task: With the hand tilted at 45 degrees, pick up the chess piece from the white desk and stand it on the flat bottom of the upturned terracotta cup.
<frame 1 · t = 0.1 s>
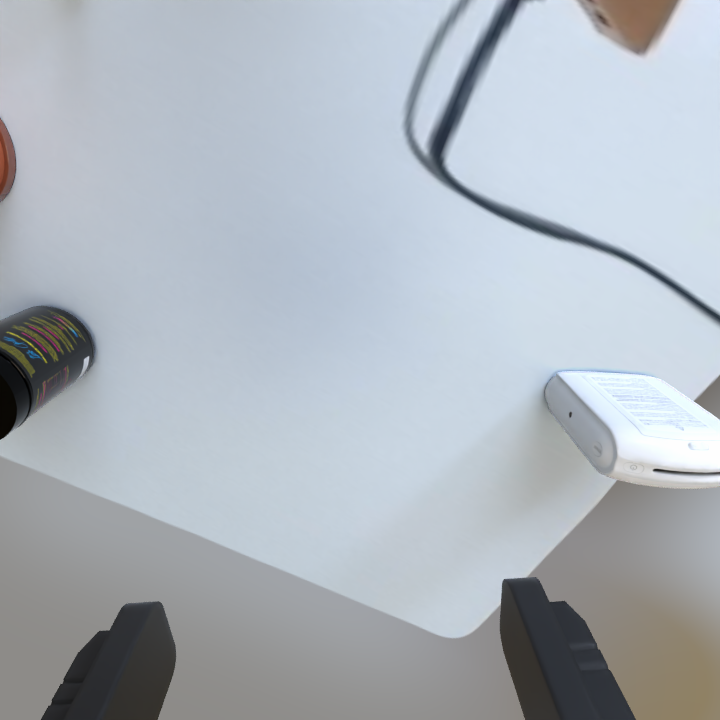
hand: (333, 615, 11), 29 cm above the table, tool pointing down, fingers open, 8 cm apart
supplement container: (58, 341, 39), on the table
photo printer: (598, 390, 42), on the table
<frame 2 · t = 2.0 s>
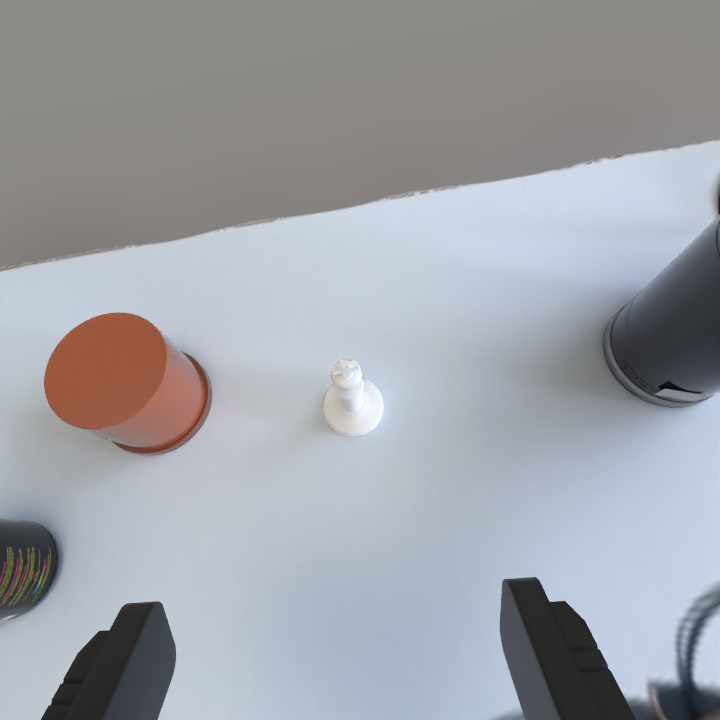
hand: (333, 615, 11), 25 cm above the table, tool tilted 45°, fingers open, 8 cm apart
chess piece: (353, 407, 39), on the table
supplement container: (21, 568, 35), on the table
upturned cup: (158, 401, 39), on the table
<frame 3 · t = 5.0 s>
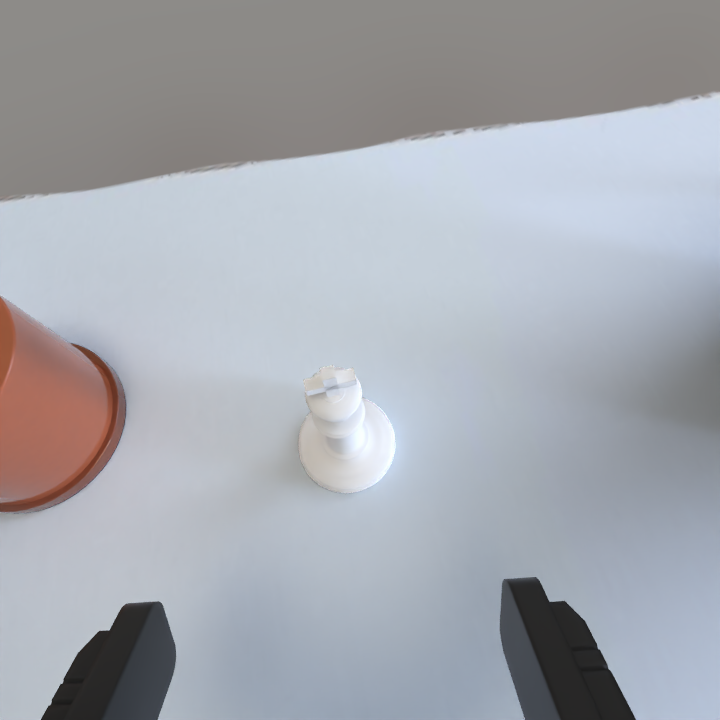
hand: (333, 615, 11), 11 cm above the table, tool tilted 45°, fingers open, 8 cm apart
chess piece: (347, 444, 24), on the table
upturned cup: (41, 424, 25), on the table
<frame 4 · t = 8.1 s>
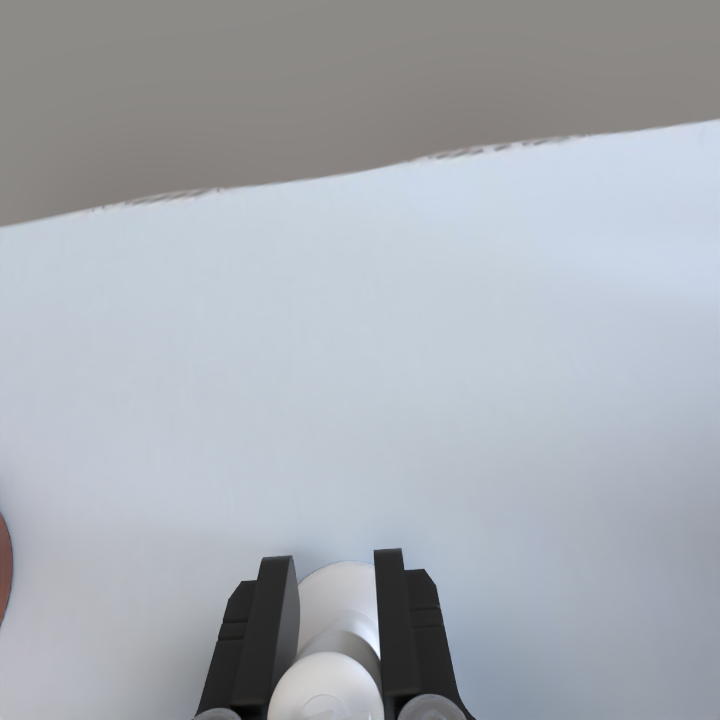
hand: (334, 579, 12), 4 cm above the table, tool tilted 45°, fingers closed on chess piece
chess piece: (350, 642, 16), on the table, touching gripper
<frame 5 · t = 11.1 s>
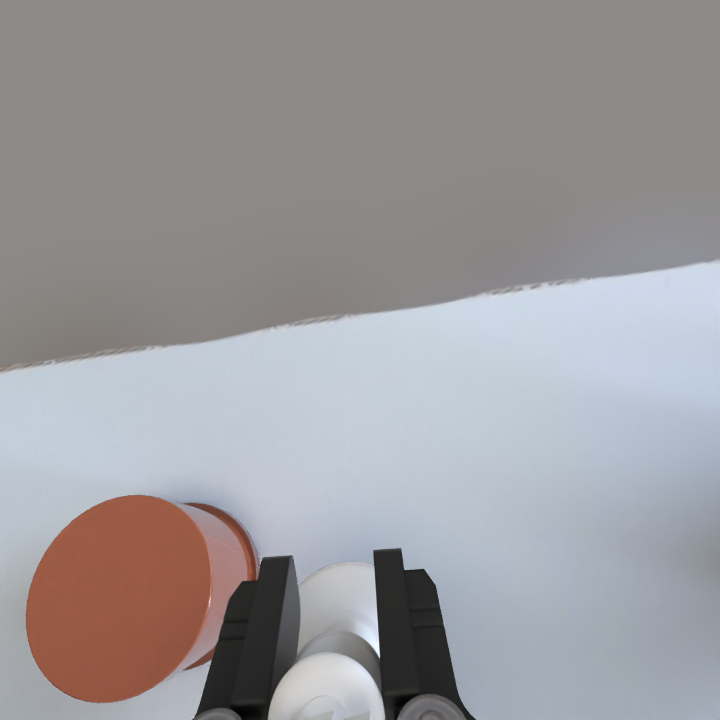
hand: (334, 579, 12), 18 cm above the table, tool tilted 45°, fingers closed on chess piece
chess piece: (351, 642, 16), point 13 cm above the table, touching gripper
upturned cup: (186, 581, 29), on the table
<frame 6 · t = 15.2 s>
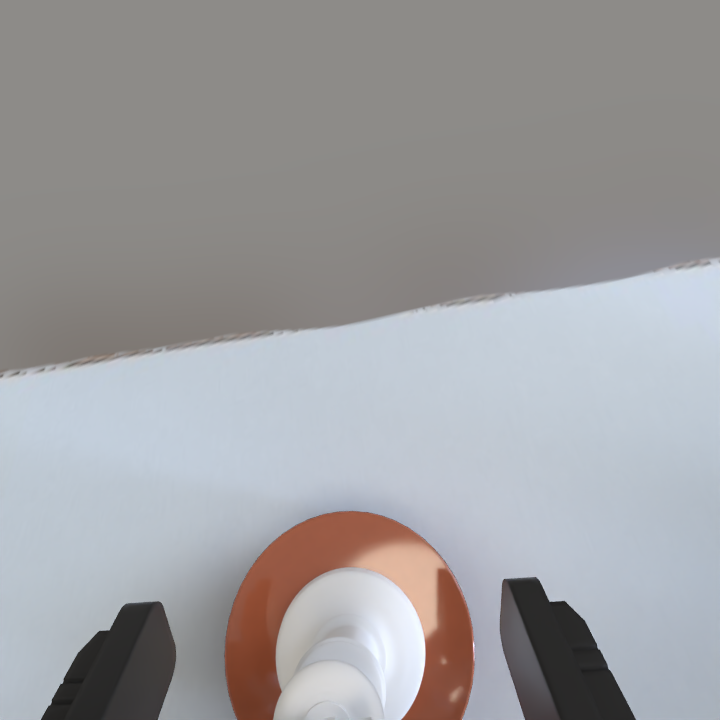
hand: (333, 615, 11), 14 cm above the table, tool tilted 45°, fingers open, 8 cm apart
chess piece: (351, 647, 16), point 8 cm above the table, touching upturned cup
upturned cup: (357, 615, 23), on the table
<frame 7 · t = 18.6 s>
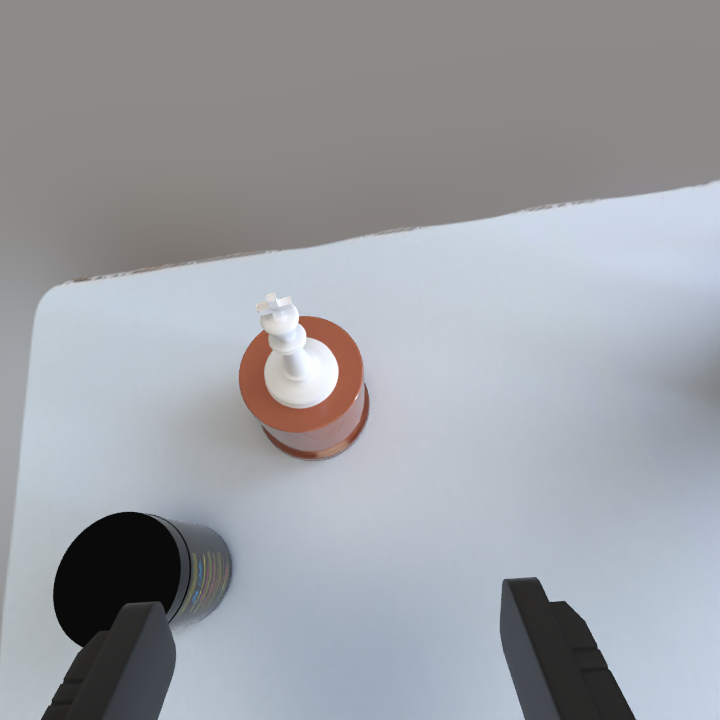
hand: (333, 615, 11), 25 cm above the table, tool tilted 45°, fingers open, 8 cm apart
chess piece: (302, 374, 32), point 8 cm above the table, touching upturned cup
supplement container: (190, 572, 35), on the table
upturned cup: (315, 406, 39), on the table
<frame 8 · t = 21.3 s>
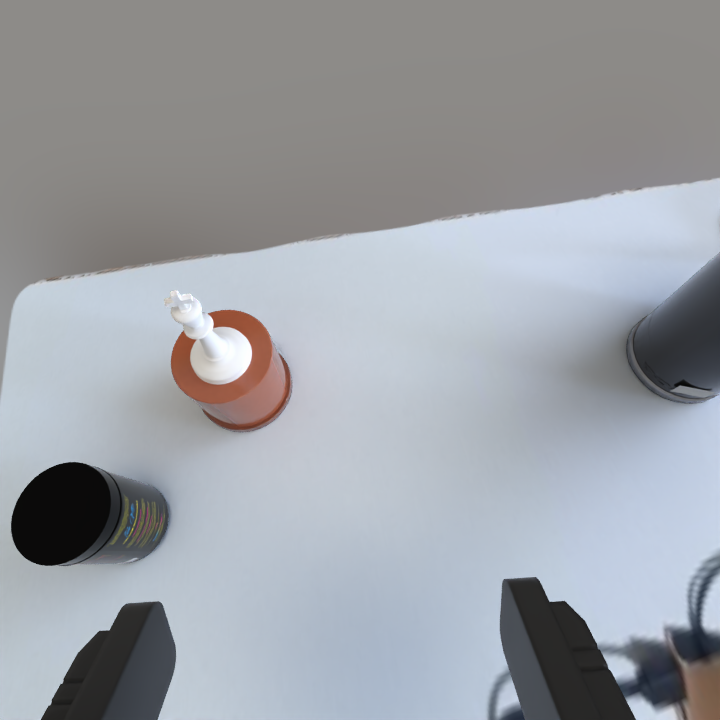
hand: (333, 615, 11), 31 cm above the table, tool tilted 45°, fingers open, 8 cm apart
chess piece: (222, 357, 39), point 8 cm above the table, touching upturned cup
supplement container: (135, 522, 42), on the table
upturned cup: (246, 386, 46), on the table
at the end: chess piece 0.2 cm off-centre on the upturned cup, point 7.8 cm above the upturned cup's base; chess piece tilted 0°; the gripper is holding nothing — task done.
